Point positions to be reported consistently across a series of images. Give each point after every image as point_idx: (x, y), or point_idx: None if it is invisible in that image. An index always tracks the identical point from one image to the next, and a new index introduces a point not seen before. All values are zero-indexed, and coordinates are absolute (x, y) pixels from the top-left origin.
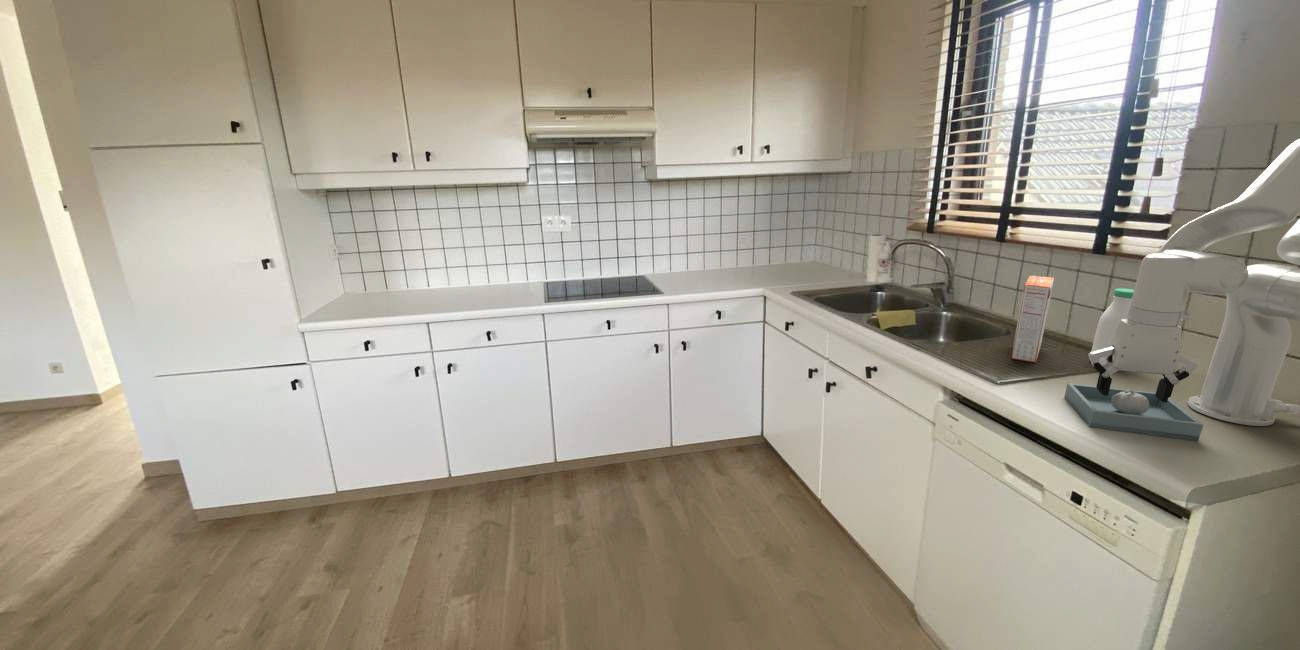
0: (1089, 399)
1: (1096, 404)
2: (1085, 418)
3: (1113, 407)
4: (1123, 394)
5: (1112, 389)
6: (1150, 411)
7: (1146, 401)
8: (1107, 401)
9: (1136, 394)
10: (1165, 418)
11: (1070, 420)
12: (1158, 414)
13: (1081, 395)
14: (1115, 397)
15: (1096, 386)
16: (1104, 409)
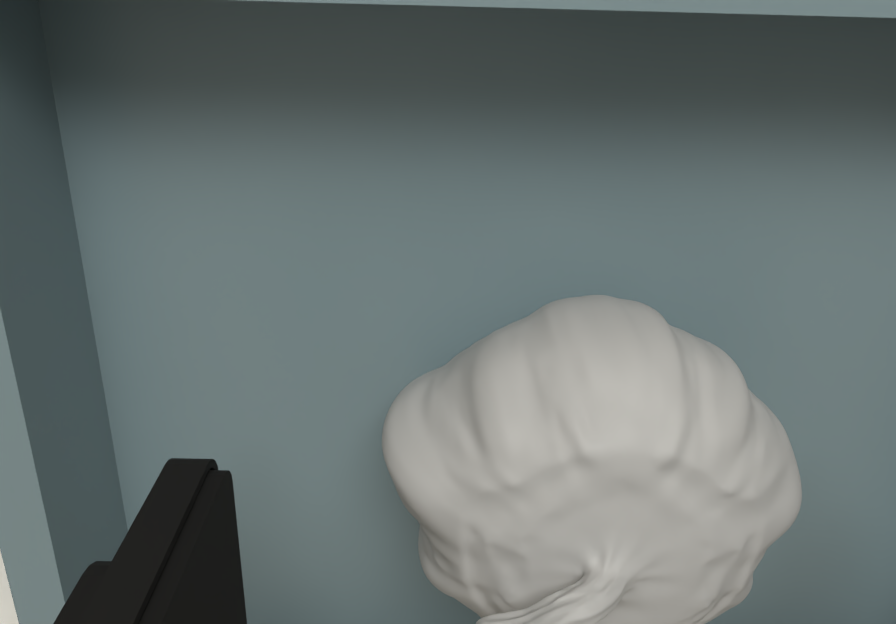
0: (258, 89)
1: (297, 250)
2: None
3: (470, 282)
4: (479, 565)
5: (565, 6)
6: (857, 279)
7: (712, 619)
8: (479, 85)
9: (637, 604)
10: (890, 436)
11: (2, 585)
12: (890, 348)
13: (10, 442)
14: (401, 500)
15: (93, 566)
16: (340, 379)
